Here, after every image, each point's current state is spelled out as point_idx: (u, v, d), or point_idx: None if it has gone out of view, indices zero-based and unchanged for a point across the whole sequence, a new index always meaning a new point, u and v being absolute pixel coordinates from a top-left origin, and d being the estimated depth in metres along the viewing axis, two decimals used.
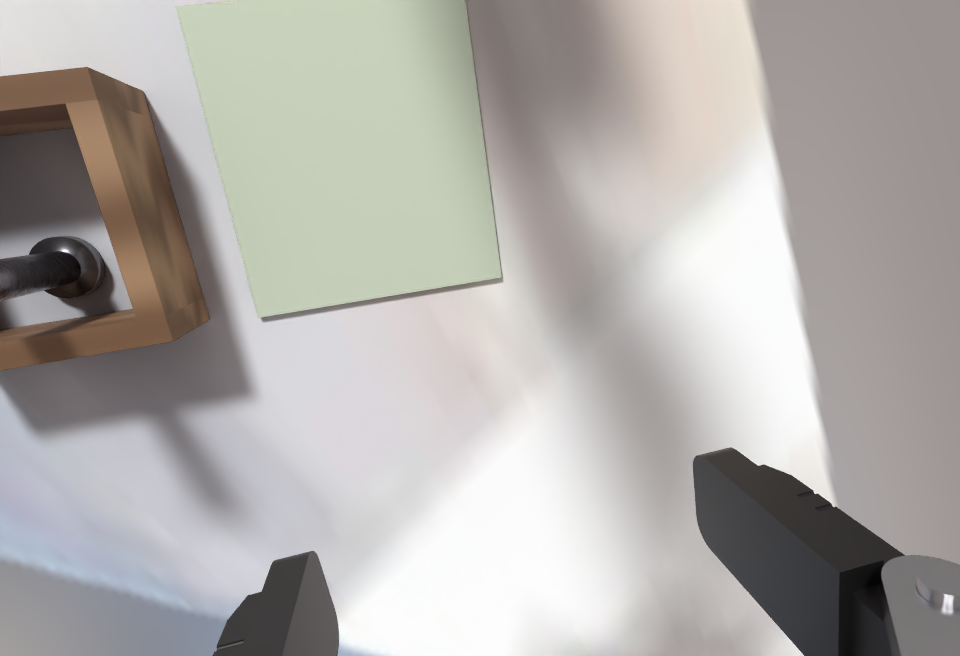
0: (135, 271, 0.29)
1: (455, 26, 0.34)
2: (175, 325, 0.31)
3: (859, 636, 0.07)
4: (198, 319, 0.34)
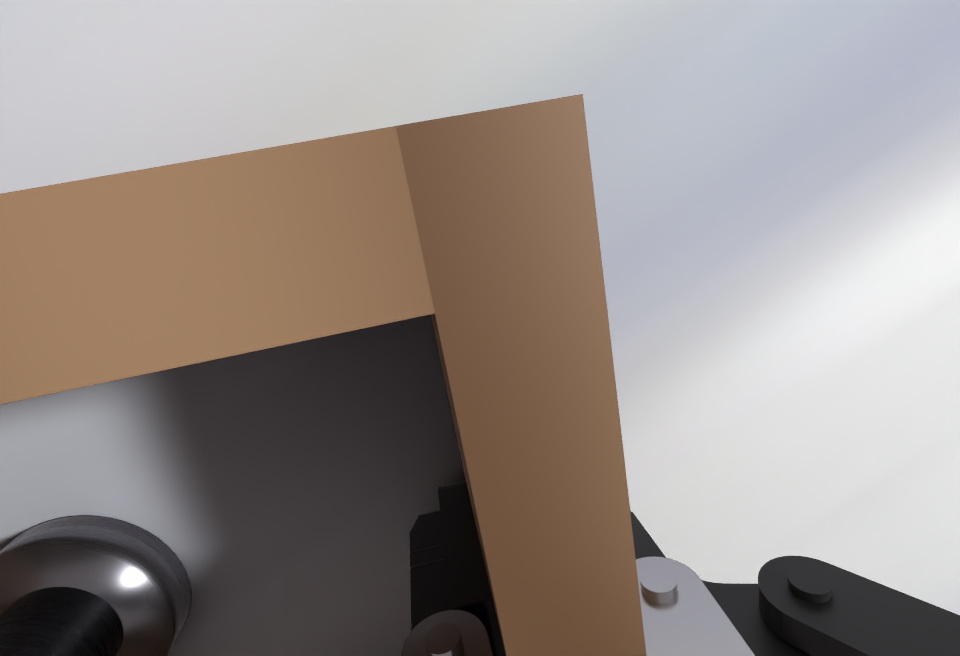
0: None
1: None
2: None
3: None
4: None
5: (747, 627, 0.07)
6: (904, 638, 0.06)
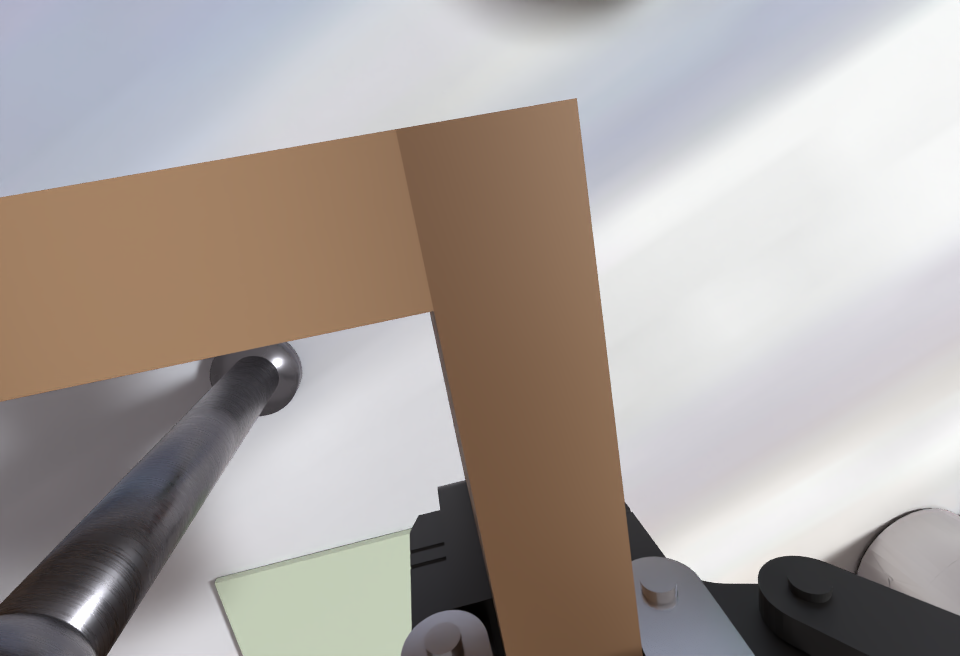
0: None
1: None
2: None
3: None
4: None
5: (747, 627, 0.07)
6: (904, 638, 0.06)
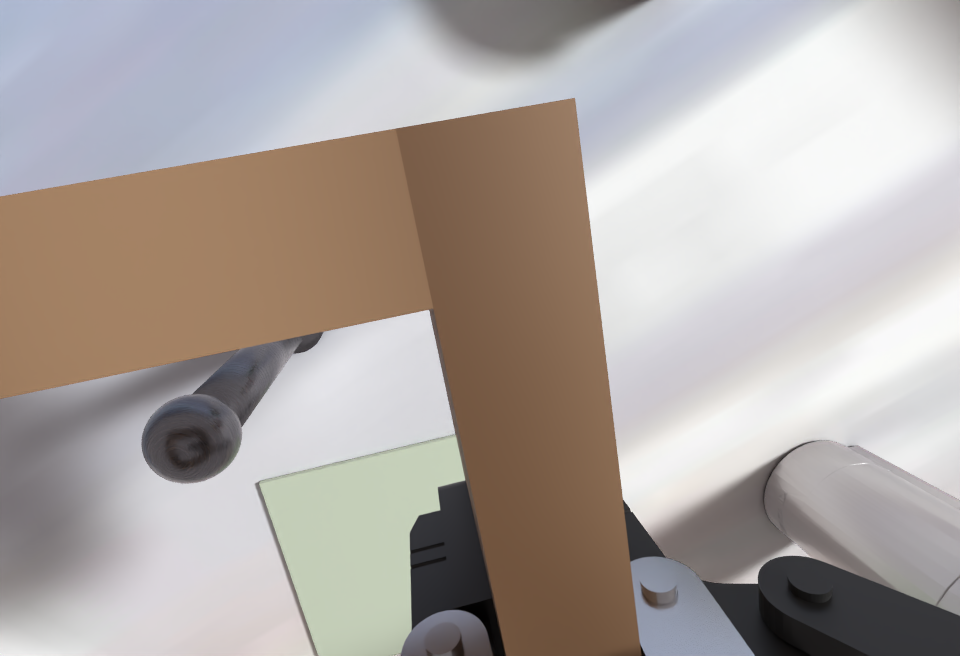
0: None
1: None
2: None
3: None
4: None
5: (747, 627, 0.07)
6: (904, 638, 0.06)
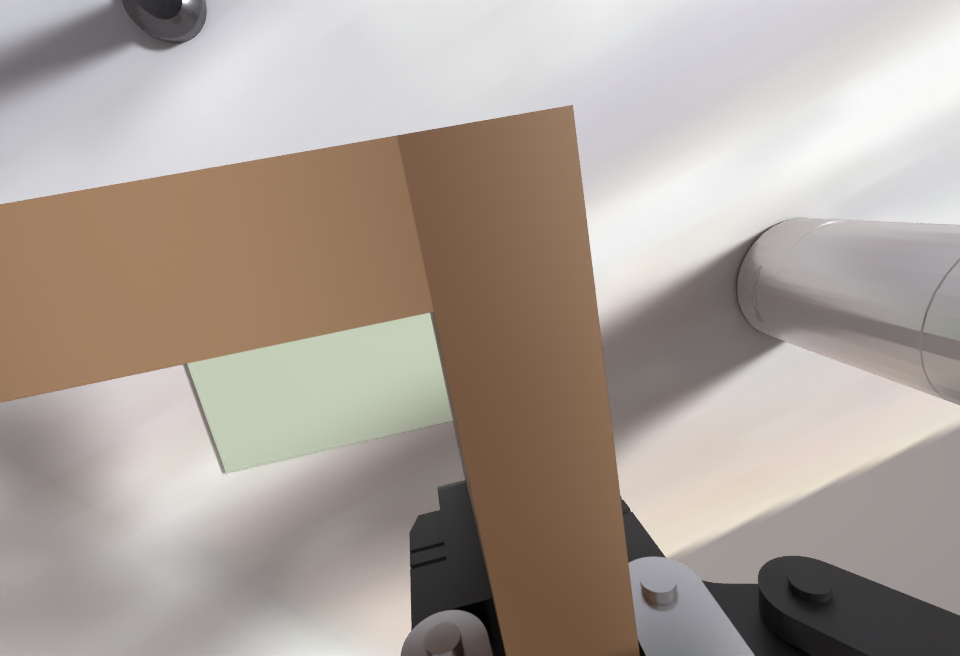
0: None
1: None
2: None
3: None
4: None
5: (747, 627, 0.07)
6: (904, 638, 0.06)
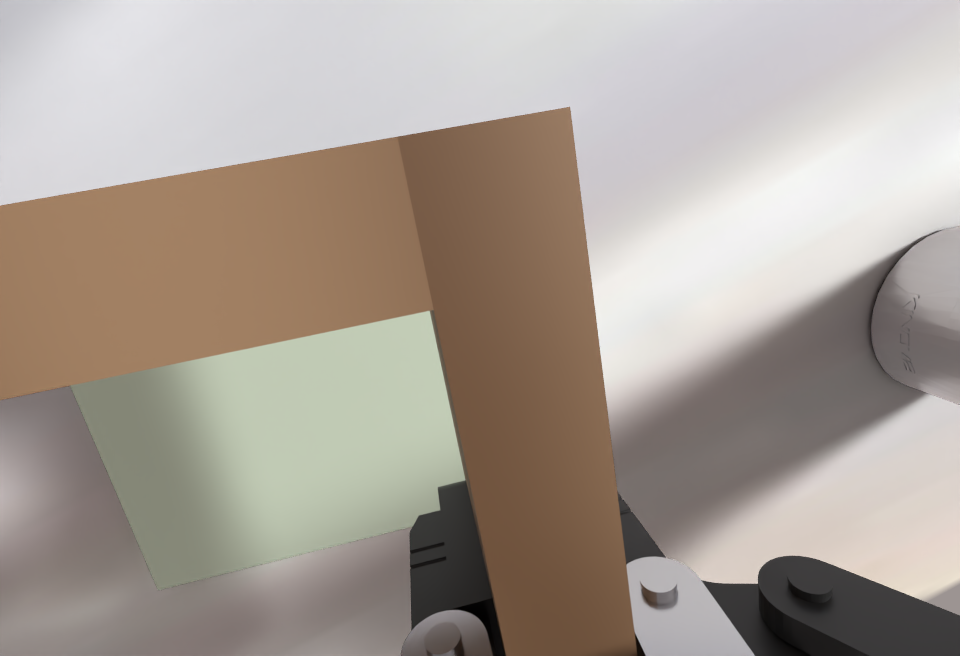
0: None
1: None
2: None
3: None
4: None
5: (747, 627, 0.07)
6: (904, 638, 0.06)
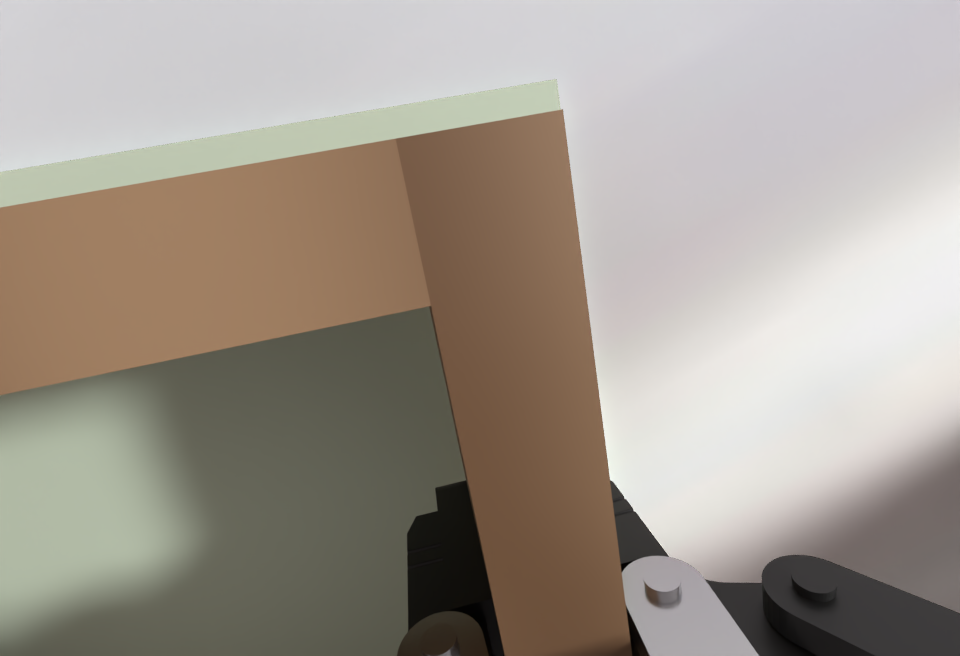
0: None
1: None
2: None
3: None
4: None
5: (751, 626, 0.07)
6: (909, 638, 0.06)
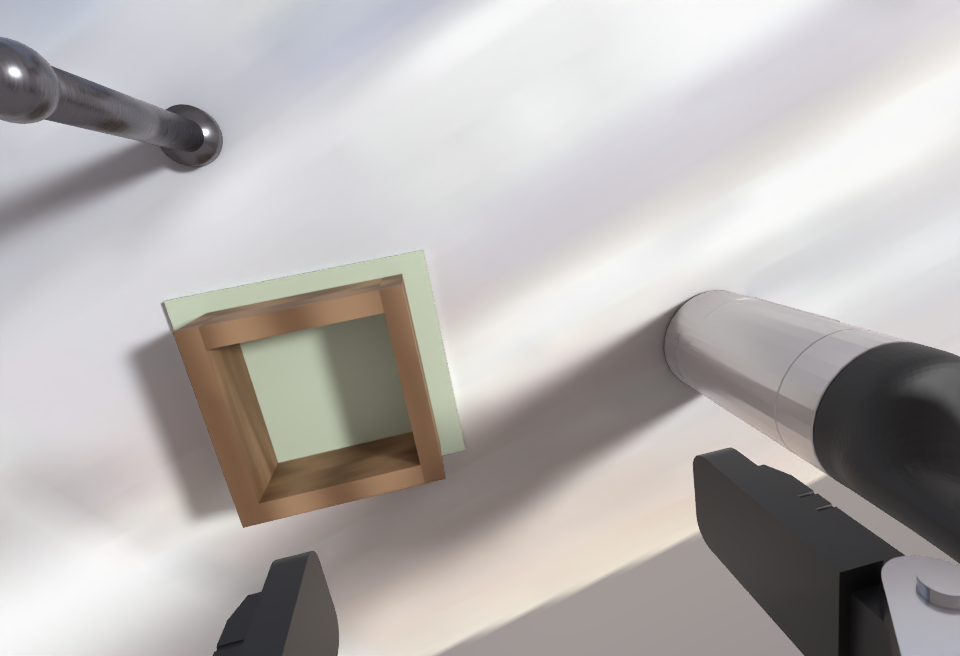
0: (300, 503, 0.37)
1: None
2: None
3: (859, 636, 0.07)
4: None
5: None
6: None
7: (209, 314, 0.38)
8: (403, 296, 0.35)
